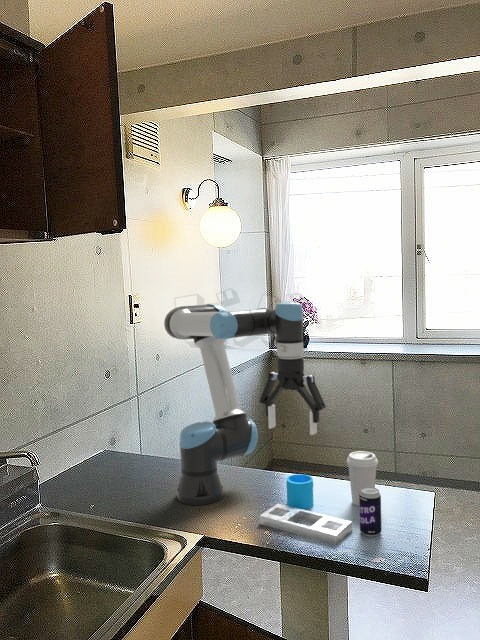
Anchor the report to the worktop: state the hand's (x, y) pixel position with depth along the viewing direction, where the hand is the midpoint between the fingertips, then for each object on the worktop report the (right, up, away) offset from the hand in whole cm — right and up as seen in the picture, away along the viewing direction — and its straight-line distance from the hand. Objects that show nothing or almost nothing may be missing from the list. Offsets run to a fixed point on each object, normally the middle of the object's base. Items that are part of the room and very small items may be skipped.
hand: (292, 430), depth 160 cm
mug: (+5, -26, +15) cm, 30 cm away
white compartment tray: (+3, -27, -2) cm, 27 cm away
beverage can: (+21, -27, -8) cm, 35 cm away
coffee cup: (+23, -25, +13) cm, 36 cm away
